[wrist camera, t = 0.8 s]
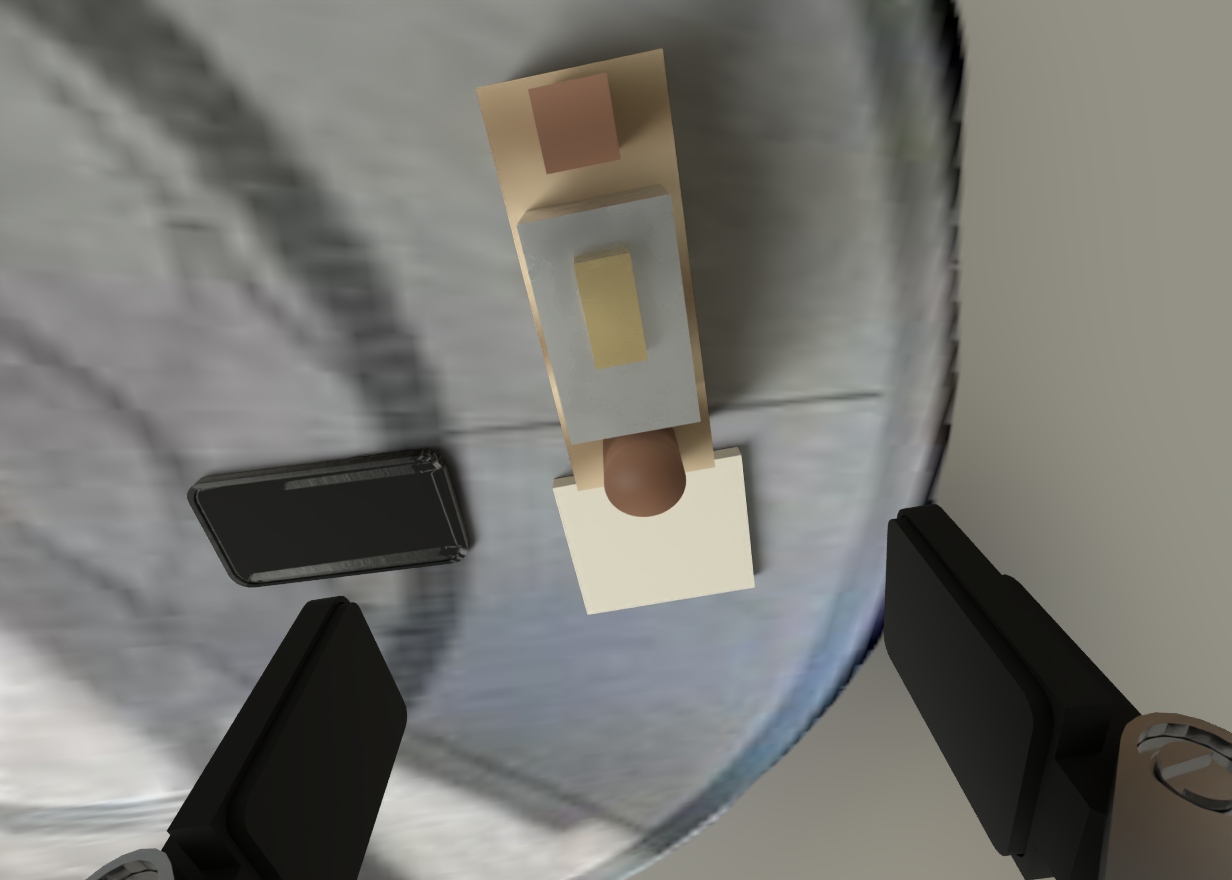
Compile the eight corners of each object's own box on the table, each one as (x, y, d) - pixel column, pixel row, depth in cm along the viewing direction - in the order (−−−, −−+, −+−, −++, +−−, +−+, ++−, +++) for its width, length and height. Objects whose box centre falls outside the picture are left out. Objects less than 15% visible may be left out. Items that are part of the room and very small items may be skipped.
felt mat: (553, 479, 37) (552, 488, 36) (737, 446, 36) (741, 454, 35) (587, 603, 41) (587, 614, 40) (751, 576, 41) (754, 587, 40)
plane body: (494, 91, 27) (447, 82, 18) (650, 58, 27) (680, 32, 18) (579, 444, 36) (575, 553, 27) (699, 422, 35) (735, 526, 26)
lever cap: (525, 210, 25) (513, 229, 21) (660, 183, 25) (673, 197, 21) (573, 409, 29) (570, 456, 25) (689, 388, 29) (704, 432, 25)
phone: (471, 561, 38) (235, 590, 39) (474, 549, 39) (244, 578, 40) (438, 451, 35) (178, 485, 35) (442, 442, 36) (189, 474, 36)
